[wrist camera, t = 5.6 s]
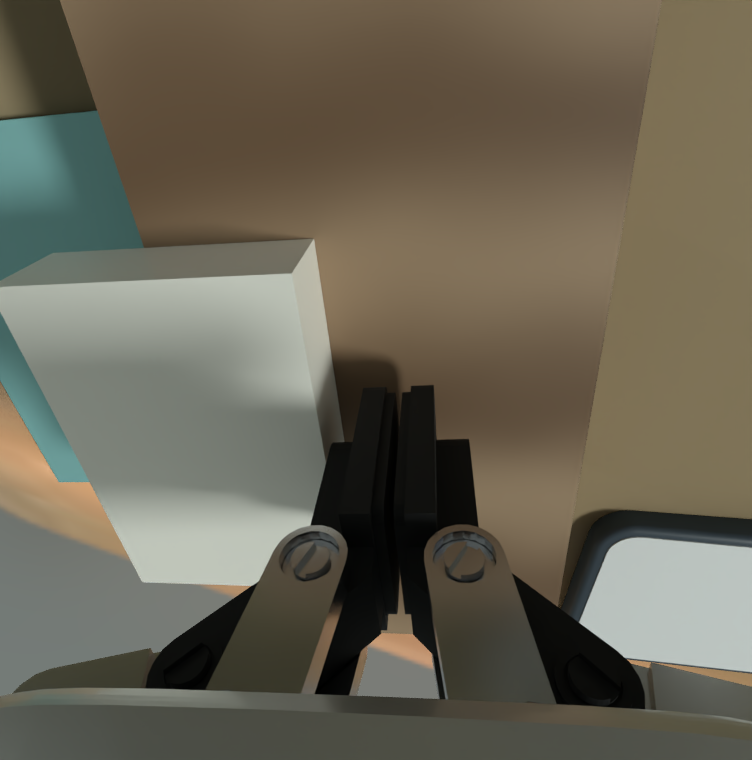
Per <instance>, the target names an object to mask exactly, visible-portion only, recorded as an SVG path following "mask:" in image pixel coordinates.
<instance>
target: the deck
mask: <svg viewBox="0 0 752 760" xmlns="http://www.w3.org/2000/svg"><path fill="white" fill-rule="evenodd" d="M60 3H61V6H62V8H63V11H64V14H65V17H66V20H67V23H68V26H69V29H70V32H71V35H72V38H73V41H74V44H75V47H76V50H77V52H78V55H79V58H80V61H81V64H82V67H83V70H84V73H85V76H86V79H87V82H88V85H89V88H90V91H91V94H92V97H93V99H94V102H95V105H96V108H97V111H98V114H99V117H100V120H101V123H102V126H103V129H104V132H105V135H106V138H107V141H108V143H109V146H110V149H111V152H112V155H113V158H114V161H115V164H116V167H117V170H118V173H119V176H120V179H121V182H122V185H123V187H124V190H125V193H126V196H127V199H128V202H129V205H130V208H131V211H132V214H133V217H134V220H135V223H136V226H137V229H138V231H139V234H140V237H141V240H142V243H143V246H144V248H153V247H171V246H188V245H206V244H225V243H243V242H261V241H279V240H298V239H314V242H315V249H316V256H317V262H318V269H319V276H320V282H321V289H322V296H323V302H324V309H325V316H326V322H327V329H328V336H329V342H330V349H331V356H332V362H333V369H334V376H335V382H336V389H337V396H338V402H339V409H340V416H341V422H342V429H343V436H344V442H353V437H354V432H355V427H356V421H357V416H358V411H359V406H360V401H361V396H362V391H363V388H369V387H387V392H388V393H394V392H395V393H396V400H397V410H398V420H399V426H400V413H401V400H402V392H411V386H419V385H434V396H435V415H436V434H437V440H444V439H469V442H470V451H471V460H472V470H473V479H474V488H475V498H476V507H477V516H478V525H479V527H480V528H482V529H484V530H486V531H487V532H489V533H491V534H492V535H493V536H494V537H495V538H496V539H497V540H498V541H499V542H500V544H501V546H502V548H503V549H504V552H505V555H506V558H507V560H508V563H509V566H510V569H511V572H512V573H513V574H514V575H516V576H517V577H518V578H520V579H521V580H522V581H524V582H525V583H526V584H528V585H529V586H530V587H532V588H533V589H534V590H536V591H537V592H538V593H540V594H541V595H543V596H544V597H545V598H547V599H548V600H549V601H551V602H552V603H553V604H555V605H556V606H557V607H558V603H559V597H560V591H561V585H562V580H563V574H564V568H565V562H566V556H567V550H568V545H569V539H570V533H571V527H572V521H573V515H574V510H575V504H576V498H577V492H578V486H579V481H580V475H581V469H582V463H583V457H584V451H585V446H586V440H587V434H588V428H589V422H590V416H591V411H592V405H593V399H594V393H595V387H596V381H597V376H598V370H599V364H600V358H601V352H602V347H603V341H604V335H605V329H606V323H607V317H608V312H609V306H610V300H611V294H612V288H613V282H614V277H615V271H616V265H617V259H618V253H619V247H620V242H621V236H622V230H623V224H624V218H625V212H626V207H627V201H628V195H629V189H630V183H631V178H632V172H633V166H634V160H635V154H636V148H637V143H638V137H639V131H640V125H641V119H642V113H643V108H644V102H645V96H646V90H647V84H648V78H649V73H650V67H651V61H652V55H653V49H654V43H655V38H656V32H657V26H658V20H659V14H660V9H661V3H662V0H60ZM381 633H399V634H413V629H412V620H411V614H405V610H404V602H403V593H402V585H401V577H400V583H399V601H398V613H397V614H388V628H387V630H381Z"/></svg>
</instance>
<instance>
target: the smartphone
mask: <svg viewBox="0 0 752 760" xmlns="http://www.w3.org/2000/svg"><path fill="white" fill-rule="evenodd" d="M561 610H563V611H564V612H565V613H567V614H568V615H569V616H571V617H572V618H574V619H575V620H576V621H578V622H579V623H580V624H582V625H583V626H584V627H586V628H587V629H588V630H590V631H591V632H592V633H594V634H595V635H596V636H598V637H599V638H601V639H602V640H603V641H605V642H606V643H607V644H609V645H610V646H611V647H613V648H614V649H615V650H617V651H618V652H619V653H620V654H621V655H622V656H623V657H624V658H625V659H629V660H637V661H646V662H655V663H664V664H672V665H681V666H690V667H699V668H707V669H716V670H725V671H734V672H742V673H751V674H752V520H751V519H738V518H725V517H712V516H698V515H685V514H672V513H659V512H645V511H627V510H625V511H618V512H614V513H610V514H608V515H605V516H603V517H602V518H600V519H599V520H597V521H596V522H595V523H594V524H593V525H592V526H591V528H590V530H589V532H588V535H587V538H586V541H585V544H584V546H583V549H582V552H581V555H580V557H579V560H578V563H577V566H576V569H575V571H574V574H573V577H572V580H571V582H570V585H569V588H568V591H567V594H566V596H565V599H564V602H563V605H562V607H561Z"/></svg>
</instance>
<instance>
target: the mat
mask: <svg viewBox="0 0 752 760" xmlns="http://www.w3.org/2000/svg"><path fill="white" fill-rule="evenodd" d="M133 248H144V246H143V243H142V240H141V237H140V234H139V231H138V229H137V226H136V223H135V220H134V217H133V214H132V211H131V208H130V205H129V202H128V199H127V196H126V193H125V190H124V187H123V185H122V182H121V179H120V176H119V173H118V170H117V167H116V164H115V161H114V158H113V155H112V152H111V149H110V146H109V143H108V141H107V138H106V135H105V132H104V129H103V126H102V123H101V120H100V117H99V114H98V111H87V112H77V113H67V114H57V115H47V116H37V117H27V118H17V119H7V120H0V281H1V280H3V279H4V278H6V277H8V276H10V275H12V274H14V273H16V272H18V271H20V270H21V269H23V268H25V267H27V266H29V265H31V264H33V263H35V262H37V261H39V260H40V259H42V258H44V257H46V256H48V255H50V254H52V253H60V252H79V251H97V250H115V249H133ZM0 381H1V383H2V385H3V386H4V388H5V390H6V392H7V393H8V395H9V397H10V398H11V400H12V402H13V404H14V405H15V407H16V409H17V411H18V412H19V414H20V416H21V417H22V419H23V421H24V423H25V424H26V426H27V428H28V430H29V431H30V433H31V435H32V436H33V438H34V440H35V442H36V443H37V445H38V447H39V449H40V450H41V452H42V454H43V455H44V457H45V459H46V461H47V462H48V464H49V466H50V468H51V469H52V471H53V473H54V474H55V476H56V478H57V480H58V481H59V482H89V480H88V478H87V476H86V474H85V472H84V470H83V468H82V466H81V465H80V463H79V461H78V459H77V457H76V455H75V453H74V451H73V449H72V447H71V446H70V444H69V442H68V440H67V438H66V436H65V434H64V432H63V430H62V428H61V426H60V425H59V423H58V421H57V419H56V417H55V415H54V413H53V411H52V409H51V407H50V406H49V404H48V402H47V400H46V398H45V396H44V394H43V392H42V390H41V388H40V387H39V385H38V383H37V381H36V379H35V377H34V375H33V373H32V371H31V369H30V368H29V366H28V364H27V362H26V360H25V358H24V356H23V354H22V352H21V350H20V349H19V347H18V345H17V343H16V341H15V339H14V337H13V335H12V333H11V331H10V330H9V328H8V326H7V324H6V322H5V320H4V318H3V316H2V314H1V312H0Z"/></svg>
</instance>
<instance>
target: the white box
mask: <svg viewBox="0 0 752 760" xmlns="http://www.w3.org/2000/svg"><path fill="white" fill-rule="evenodd" d="M0 312H1V314H2V316H3V318H4V320H5V322H6V324H7V326H8V328H9V330H10V331H11V333H12V335H13V337H14V339H15V341H16V343H17V345H18V347H19V349H20V350H21V352H22V354H23V356H24V358H25V360H26V362H27V364H28V366H29V368H30V369H31V371H32V373H33V375H34V377H35V379H36V381H37V383H38V385H39V387H40V388H41V390H42V392H43V394H44V396H45V398H46V400H47V402H48V404H49V406H50V407H51V409H52V411H53V413H54V415H55V417H56V419H57V421H58V423H59V425H60V426H61V428H62V430H63V432H64V434H65V436H66V438H67V440H68V442H69V444H70V446H71V447H72V449H73V451H74V453H75V455H76V457H77V459H78V461H79V463H80V465H81V466H82V468H83V470H84V472H85V474H86V476H87V478H88V480H89V482H90V484H91V485H92V487H93V489H94V491H95V493H96V495H97V497H98V499H99V501H100V503H101V504H102V506H103V508H104V510H105V512H106V514H107V516H108V518H109V520H110V522H111V523H112V525H113V527H114V529H115V531H116V533H117V535H118V537H119V539H120V541H121V542H122V544H123V546H124V548H125V550H126V552H127V554H128V556H129V558H130V560H131V561H132V563H133V565H134V567H135V569H136V571H137V573H138V575H139V577H140V579H141V580H142V582H152V583H183V584H213V585H243V586H252V585H254V584H255V583H257V582H258V581H259V580H260V578H261V576H262V573H263V571H264V569H265V567H266V565H267V563H268V561H269V559H270V557H271V555H272V553H273V551H274V549H275V548H276V546H277V545H278V544H279V542H280V541H281V540H282V539H283V538H284V537H286V536H287V535H288V534H289V533H291V532H293V531H295V530H297V529H299V528H302V527H306V526H310V525H311V521H312V517H313V513H314V509H315V505H316V501H317V497H318V493H319V489H320V485H321V481H322V477H323V473H324V469H325V465H326V461H327V457H328V453H329V449H330V446H331V444H332V443H333V442H344V436H343V429H342V422H341V416H340V409H339V402H338V396H337V389H336V382H335V376H334V369H333V362H332V356H331V349H330V342H329V336H328V329H327V322H326V316H325V309H324V302H323V296H322V289H321V282H320V276H319V269H318V262H317V256H316V249H315V242H314V239H298V240H279V241H261V242H243V243H225V244H206V245H188V246H171V247H153V248H133V249H115V250H97V251H79V252H60V253H52V254H50V255H48V256H46V257H44V258H42V259H40V260H39V261H37V262H35V263H33V264H31V265H29V266H27V267H25V268H23V269H21V270H20V271H18V272H16V273H14V274H12V275H10V276H8V277H6V278H4V279H3V280H1V281H0Z"/></svg>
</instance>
